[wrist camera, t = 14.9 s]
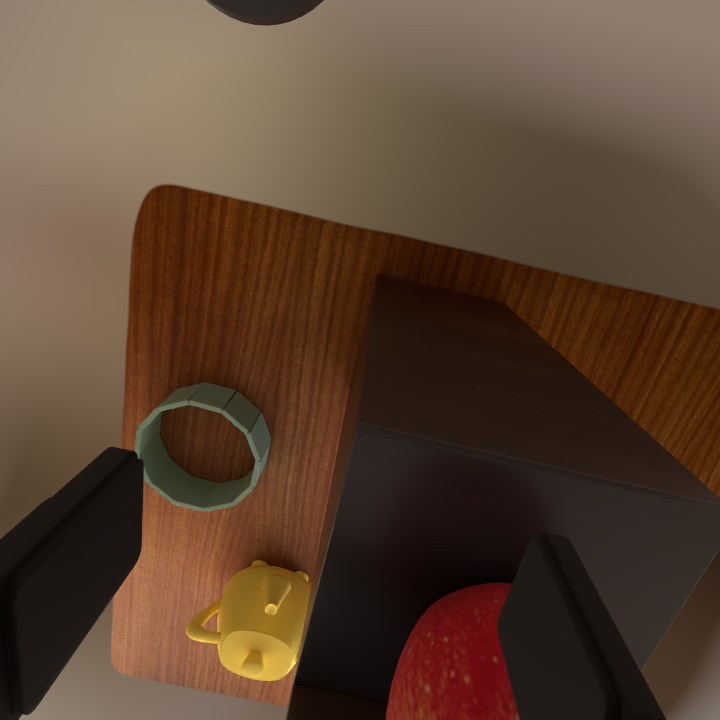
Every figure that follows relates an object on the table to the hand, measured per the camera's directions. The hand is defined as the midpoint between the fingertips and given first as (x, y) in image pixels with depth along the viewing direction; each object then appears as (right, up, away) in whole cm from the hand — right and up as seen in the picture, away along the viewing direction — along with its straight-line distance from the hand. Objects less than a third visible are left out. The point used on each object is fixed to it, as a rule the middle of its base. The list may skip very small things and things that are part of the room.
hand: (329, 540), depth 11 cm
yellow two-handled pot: (-11, -26, +52) cm, 59 cm away
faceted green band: (-17, -5, +45) cm, 48 cm away
